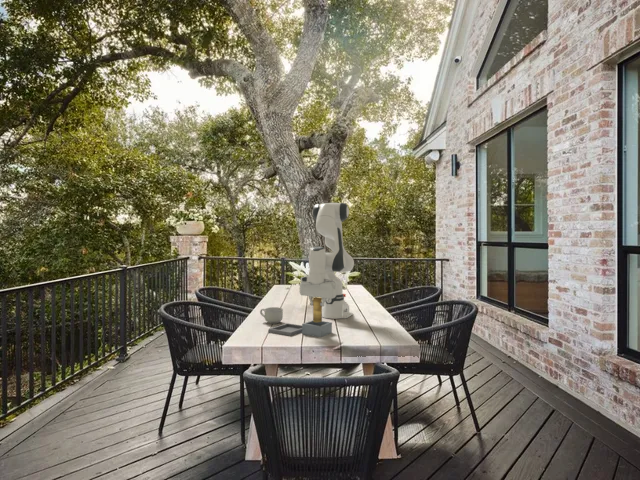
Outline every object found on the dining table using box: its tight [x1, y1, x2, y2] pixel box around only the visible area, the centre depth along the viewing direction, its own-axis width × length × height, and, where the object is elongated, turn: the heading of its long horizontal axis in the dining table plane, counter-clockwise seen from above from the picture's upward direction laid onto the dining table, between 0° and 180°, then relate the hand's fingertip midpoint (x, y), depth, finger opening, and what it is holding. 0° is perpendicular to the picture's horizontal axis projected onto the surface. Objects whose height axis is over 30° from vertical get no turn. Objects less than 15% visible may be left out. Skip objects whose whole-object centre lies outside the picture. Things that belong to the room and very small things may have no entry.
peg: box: [312, 297, 323, 322], centre depth 207 cm, size 4×4×12 cm
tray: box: [268, 322, 302, 337], centre depth 211 cm, size 16×14×2 cm
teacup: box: [259, 306, 284, 325], centre depth 235 cm, size 14×11×8 cm
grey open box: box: [301, 319, 333, 338], centre depth 206 cm, size 11×11×6 cm
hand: (317, 305), depth 207 cm, fingers closed on peg, 4 cm apart
